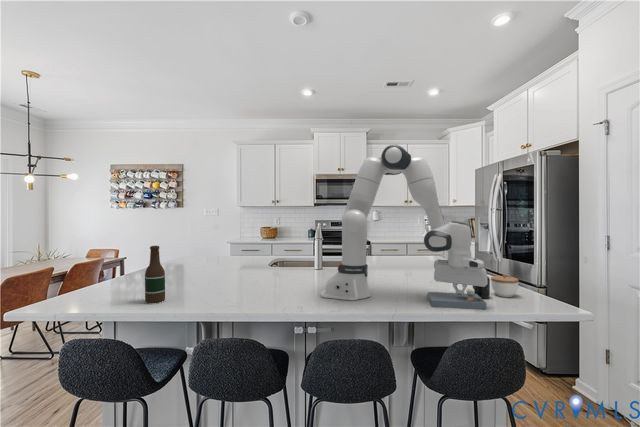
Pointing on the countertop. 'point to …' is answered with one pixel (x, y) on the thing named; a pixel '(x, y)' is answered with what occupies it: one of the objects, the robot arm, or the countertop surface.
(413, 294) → the countertop surface
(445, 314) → the countertop surface
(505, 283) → the lidded jar
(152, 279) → the beer bottle
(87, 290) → the countertop surface
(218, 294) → the countertop surface
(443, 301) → the plate
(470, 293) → the cream ball
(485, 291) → the supplement bottle
